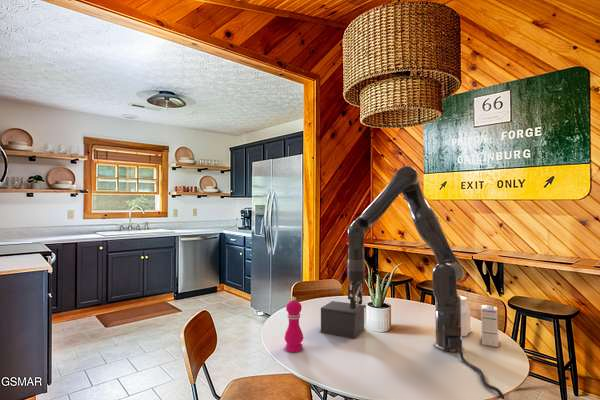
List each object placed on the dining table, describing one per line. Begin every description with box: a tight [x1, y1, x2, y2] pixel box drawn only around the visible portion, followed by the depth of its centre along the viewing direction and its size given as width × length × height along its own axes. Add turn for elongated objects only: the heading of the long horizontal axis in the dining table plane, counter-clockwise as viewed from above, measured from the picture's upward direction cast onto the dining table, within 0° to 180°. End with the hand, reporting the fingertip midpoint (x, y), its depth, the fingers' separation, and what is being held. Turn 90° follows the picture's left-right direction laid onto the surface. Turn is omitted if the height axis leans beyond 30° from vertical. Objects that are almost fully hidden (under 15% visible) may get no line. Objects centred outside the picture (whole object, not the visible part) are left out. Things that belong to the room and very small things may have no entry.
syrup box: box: [480, 304, 499, 348], centre depth 139 cm, size 6×6×14 cm
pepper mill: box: [284, 296, 304, 353], centre depth 134 cm, size 7×7×20 cm
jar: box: [458, 294, 472, 337], centre depth 152 cm, size 12×10×15 cm
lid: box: [320, 296, 367, 314], centre depth 154 cm, size 16×13×5 cm
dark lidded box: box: [320, 308, 365, 339], centre depth 154 cm, size 16×13×10 cm
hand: (356, 306), depth 151 cm, fingers open, 8 cm apart
